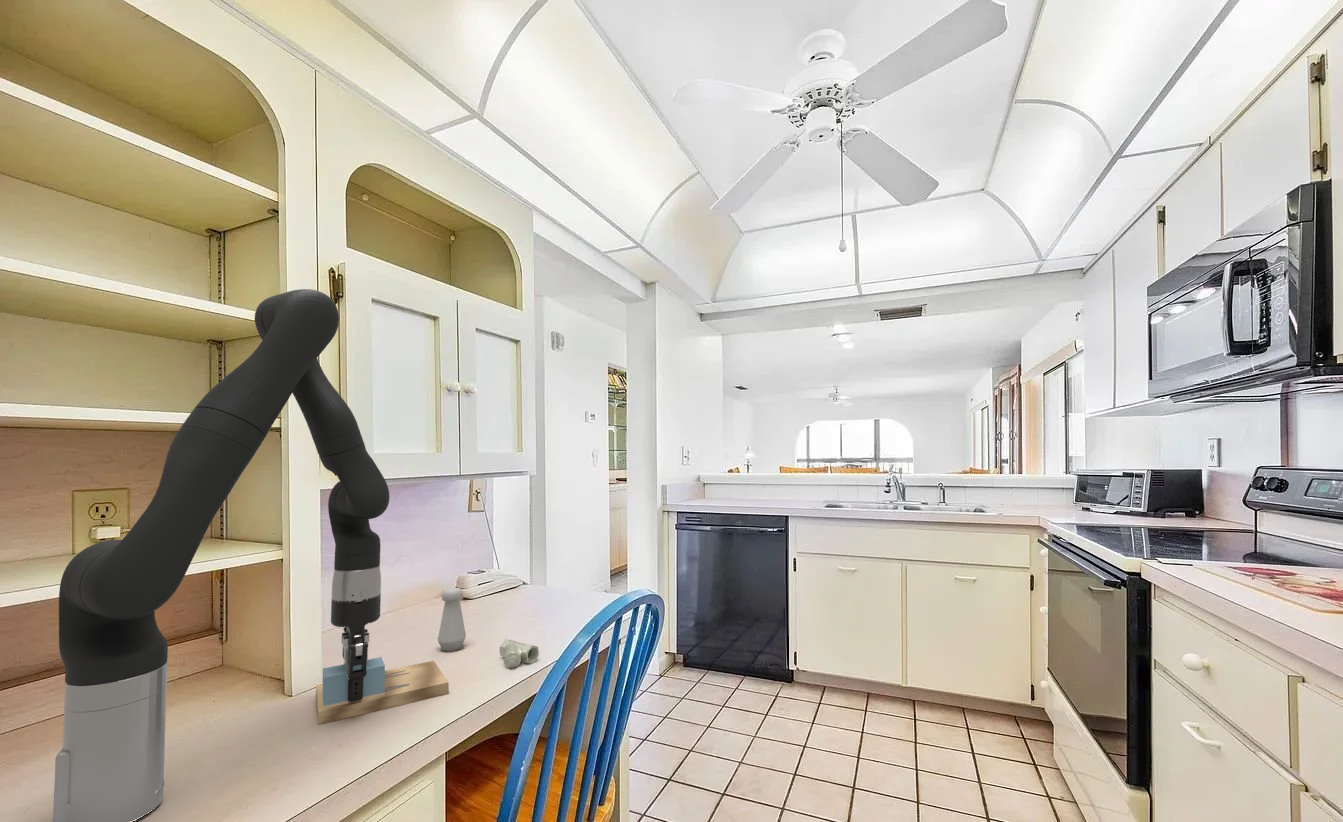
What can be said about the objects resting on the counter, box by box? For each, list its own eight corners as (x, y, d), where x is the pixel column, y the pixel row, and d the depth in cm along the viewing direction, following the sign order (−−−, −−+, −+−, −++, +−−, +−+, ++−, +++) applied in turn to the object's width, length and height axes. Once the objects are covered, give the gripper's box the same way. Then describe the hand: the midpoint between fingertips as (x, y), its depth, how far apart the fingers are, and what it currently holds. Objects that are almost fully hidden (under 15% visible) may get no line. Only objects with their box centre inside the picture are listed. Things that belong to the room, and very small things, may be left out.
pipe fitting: (514, 674, 114) (539, 660, 120) (513, 654, 114) (538, 642, 120) (487, 666, 119) (512, 653, 124) (486, 647, 119) (511, 635, 124)
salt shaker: (456, 653, 125) (456, 592, 126) (432, 652, 126) (432, 591, 127) (470, 644, 130) (470, 586, 131) (447, 643, 132) (448, 585, 132)
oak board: (318, 724, 93) (319, 711, 94) (316, 696, 104) (316, 684, 104) (448, 693, 104) (448, 682, 105) (433, 670, 115) (433, 660, 115)
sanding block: (323, 709, 95) (323, 677, 95) (322, 698, 99) (322, 668, 99) (384, 695, 99) (384, 665, 100) (381, 685, 104) (381, 657, 104)
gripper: (329, 588, 104) (325, 685, 103) (334, 606, 92) (330, 716, 91) (375, 583, 108) (373, 676, 107) (386, 599, 96) (383, 704, 95)
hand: (353, 694), depth 99 cm, fingers closed on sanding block, 5 cm apart
